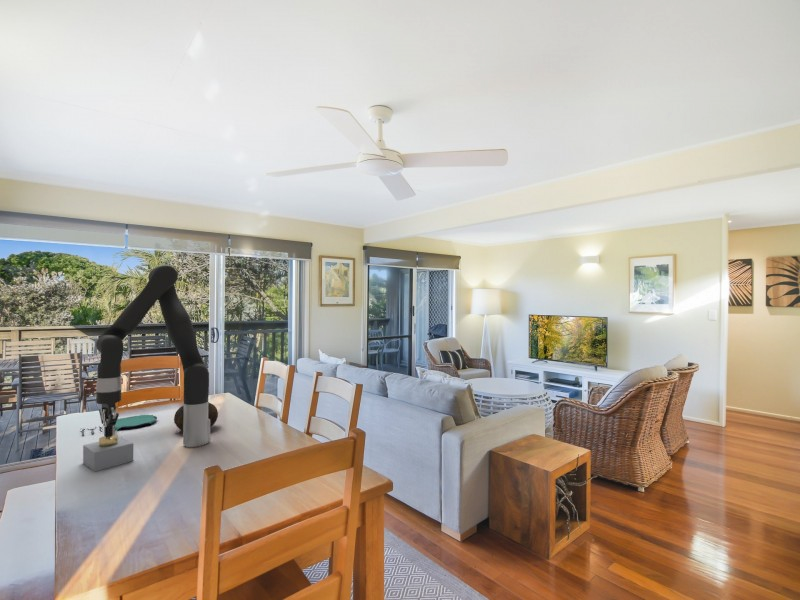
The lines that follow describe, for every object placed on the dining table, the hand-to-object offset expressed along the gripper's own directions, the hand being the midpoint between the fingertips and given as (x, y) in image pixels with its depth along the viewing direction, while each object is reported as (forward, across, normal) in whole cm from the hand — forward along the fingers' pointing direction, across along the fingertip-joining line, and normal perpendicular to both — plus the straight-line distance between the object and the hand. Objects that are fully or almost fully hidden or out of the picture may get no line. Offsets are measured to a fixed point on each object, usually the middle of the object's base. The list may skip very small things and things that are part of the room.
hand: (108, 436), depth 149 cm
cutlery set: (+10, +46, -19) cm, 51 cm away
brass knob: (+9, 0, 0) cm, 9 cm away
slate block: (+9, 0, 0) cm, 9 cm away
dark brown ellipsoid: (+9, +12, -38) cm, 41 cm away
